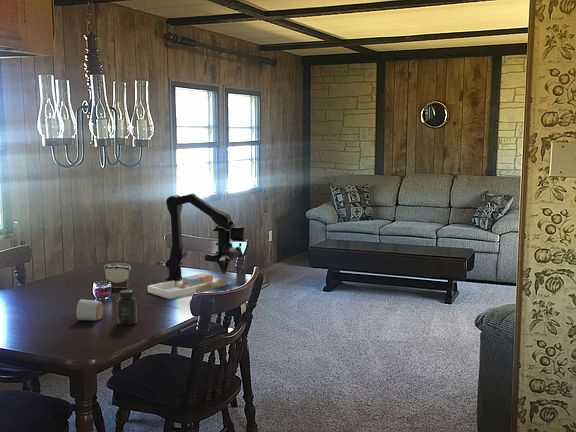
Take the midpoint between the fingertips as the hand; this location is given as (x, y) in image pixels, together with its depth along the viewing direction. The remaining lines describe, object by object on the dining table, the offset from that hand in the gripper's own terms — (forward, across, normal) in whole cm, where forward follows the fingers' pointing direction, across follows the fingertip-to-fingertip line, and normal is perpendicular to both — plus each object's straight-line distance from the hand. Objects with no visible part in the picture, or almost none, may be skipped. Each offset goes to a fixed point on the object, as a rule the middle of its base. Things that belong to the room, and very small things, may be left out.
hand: (224, 273), depth 301 cm
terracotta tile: (+1, -12, 0) cm, 13 cm away
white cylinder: (+4, -74, -10) cm, 75 cm away
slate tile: (+1, -19, 0) cm, 19 cm away
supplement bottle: (+4, -68, -24) cm, 72 cm away
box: (+4, -30, 0) cm, 30 cm away
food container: (+4, -39, +27) cm, 48 cm away
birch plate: (+4, -14, 0) cm, 14 cm away
